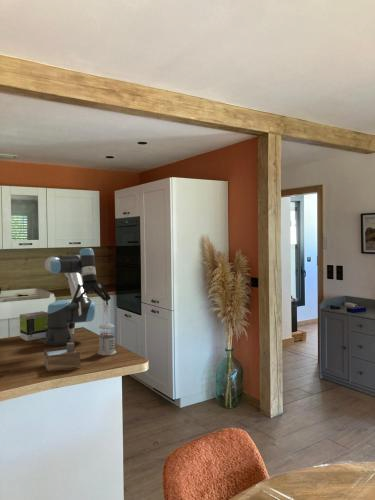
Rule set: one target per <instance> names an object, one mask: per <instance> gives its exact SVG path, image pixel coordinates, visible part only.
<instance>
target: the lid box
mask: <svg viewBox="0 0 375 500" xmlns="http://www.w3.org/2000/svg"><path fill="white" fill-rule="evenodd" d="M66 349H67V346H62V347H60V346H59V347H52V348H44V349H43V366H44V368H45V370H46V371H47V373H49V372H50V373H54V372H55V371H57V372H63V371H62V370H64V371H70V370H75V369H81V351H75V352H73V353H65V354H57V355H49V356H47V352H49V351H57V350H66ZM55 373H56V372H55Z"/></svg>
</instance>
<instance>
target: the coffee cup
mask: <svg viewBox="0 0 375 500" xmlns="http://www.w3.org/2000/svg"><path fill="white" fill-rule="evenodd" d="M75 325H76V323H69V330H70V333H71V336H72V335H74V334H75V327H76V326H75Z"/></svg>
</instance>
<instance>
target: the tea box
mask: <svg viewBox="0 0 375 500" xmlns="http://www.w3.org/2000/svg"><path fill="white" fill-rule="evenodd" d="M47 312H48V311H44V310H41V311H36V312H35V311H34V312H28V313H27V312H26V313H21V314H19V337H20V339H21V338H22V340H24V341H26V342H28V341H29V342H30V341H35V340H40V339H45V337H46V334H47V330H48V313H47Z"/></svg>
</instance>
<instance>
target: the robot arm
mask: <svg viewBox="0 0 375 500" xmlns="http://www.w3.org/2000/svg"><path fill="white" fill-rule="evenodd" d="M95 261H96V259H95V253H94V250H93V249H92V248H90V247H84V248H81V249H80V250H79V254H56V255H52V256H51V255H50V256H49V257H47V258H45V261H44V262H43V263H44V264H43V266H44V269H45V270H46V271H48V272H49V273H51V274H56V275H57V274H64V276H65V277H66V278H67V281H68V286H69V290H70V295H71V299H72V300H71V301H69V300H58V301H54V302H51V303H49V304H48V305H47V311H46V312H47V313H48V330H47V334H46V337H45V338H44V345H46V346H53V347H54V346H55V347H56V346H59V347H60V346H67V343H70V342H73V336H72V335H71V333H70V330H69V323H75V324H78V323H88V322H93V320H94V319H95V316H96V315H95V314H96V304H95V301H91V299H90V297H89V296H88V295H87V294H90V293H91V294H92V293H95V294H97V295H98V296H99V297H100V298H101V300H103V301H102V303H103V312H104V315H107V314H108V307H105V306H106V305H108V306H109V301H110V300H111V299H112V298H111V295H110V294H109V293H108V291H107V290H106V288H105V286H104V283H103V282H101V283H100V284H99V283H98V279H97V271H96V270H97V269H96V262H95Z"/></svg>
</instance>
